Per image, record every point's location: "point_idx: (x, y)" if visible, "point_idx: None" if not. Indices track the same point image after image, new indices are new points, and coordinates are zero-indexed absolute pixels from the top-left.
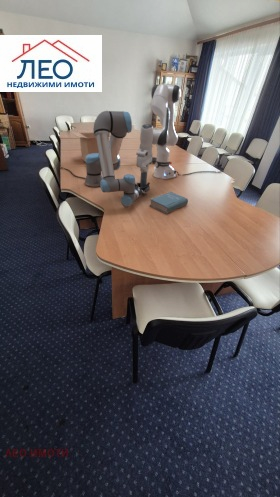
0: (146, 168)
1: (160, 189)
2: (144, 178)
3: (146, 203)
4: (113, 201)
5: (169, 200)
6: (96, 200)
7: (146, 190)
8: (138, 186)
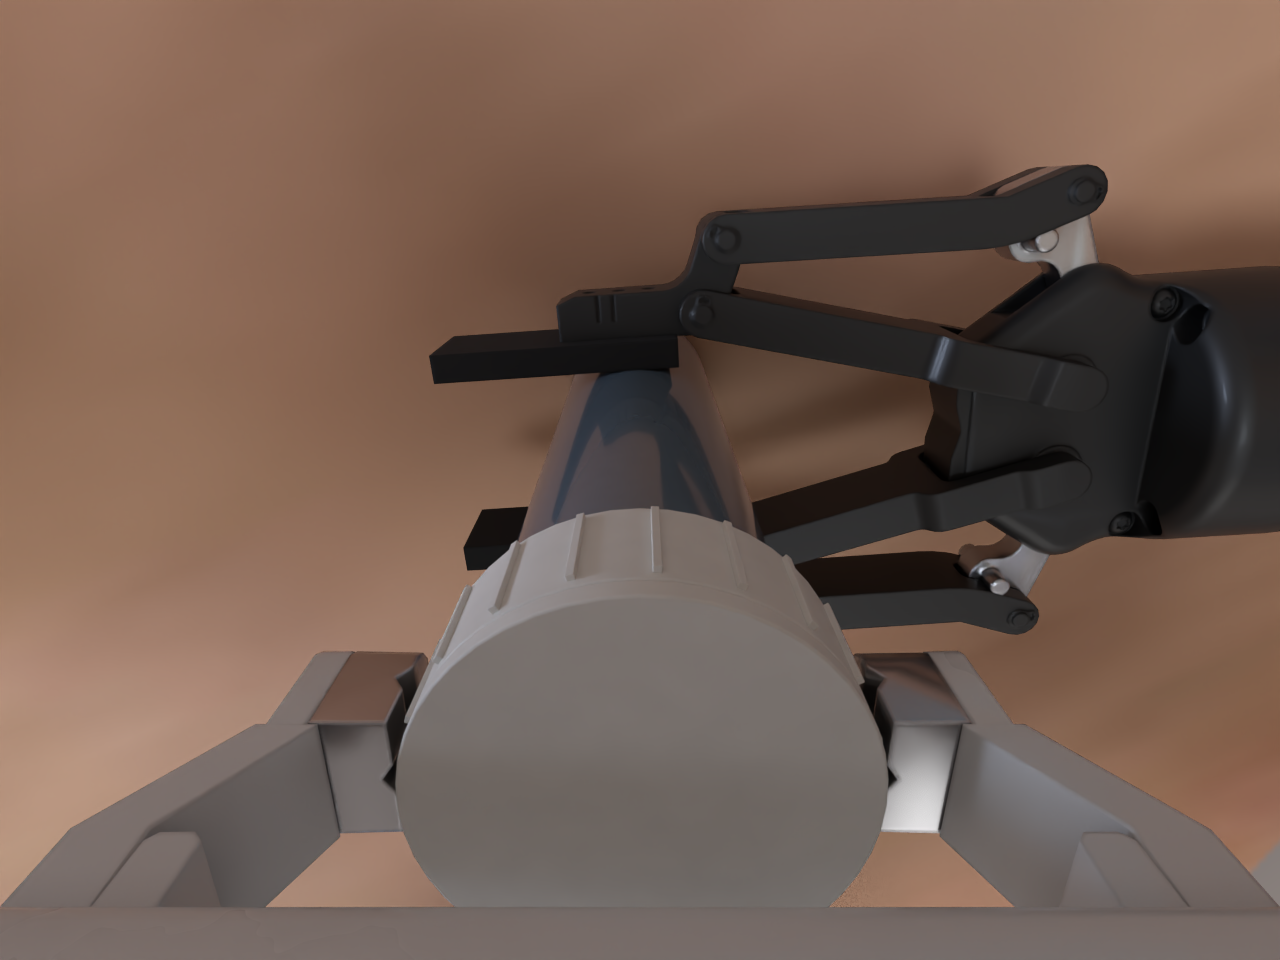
0: (704, 675)
1: (130, 132)
2: (737, 476)
3: (1070, 99)
4: (1186, 653)
5: None
6: (1226, 840)
7: (1062, 175)
8: None
